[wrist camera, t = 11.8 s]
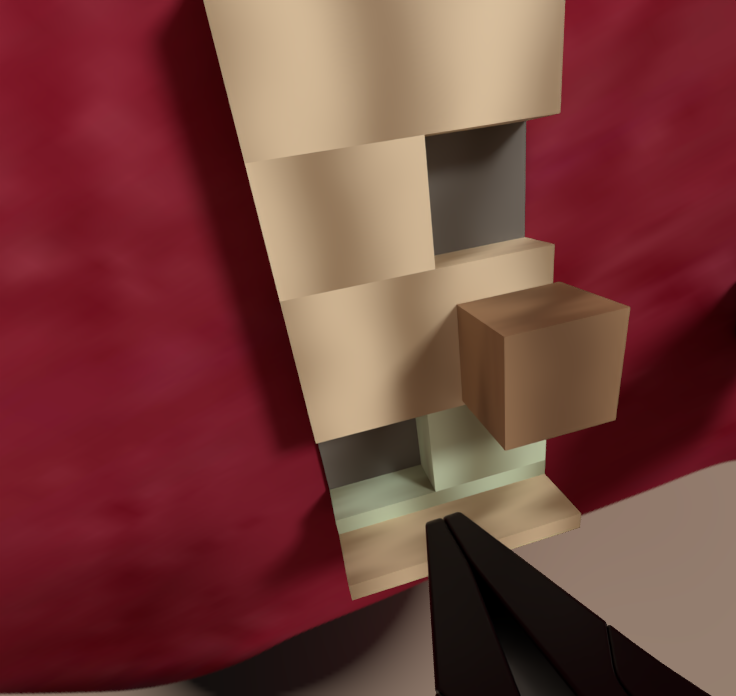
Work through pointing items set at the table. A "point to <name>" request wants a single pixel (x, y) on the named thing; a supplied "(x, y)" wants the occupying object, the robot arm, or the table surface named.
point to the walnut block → (541, 361)
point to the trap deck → (397, 245)
